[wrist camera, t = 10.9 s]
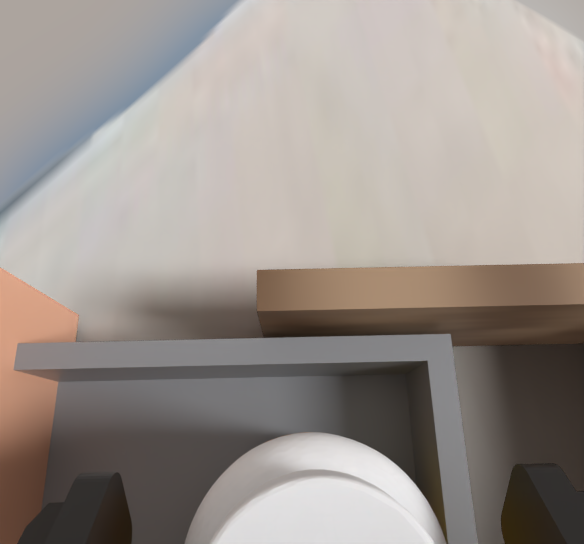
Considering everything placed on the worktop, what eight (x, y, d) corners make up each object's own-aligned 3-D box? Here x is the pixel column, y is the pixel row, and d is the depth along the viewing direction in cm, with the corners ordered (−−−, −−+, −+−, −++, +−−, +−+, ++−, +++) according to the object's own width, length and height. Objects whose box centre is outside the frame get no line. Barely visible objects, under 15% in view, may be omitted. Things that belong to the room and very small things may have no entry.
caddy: (269, 760, 15) (255, 950, 9) (267, 320, 20) (257, 269, 14) (742, 746, 15) (1011, 927, 10) (631, 312, 20) (768, 259, 14)
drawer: (-20, 788, 15) (-354, 1154, 7) (48, 315, 19) (-108, 233, 12) (463, 774, 15) (644, 1120, 7) (413, 307, 19) (491, 221, 12)
